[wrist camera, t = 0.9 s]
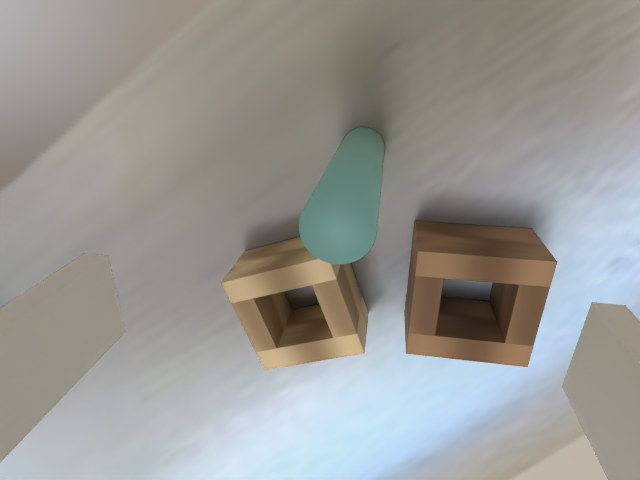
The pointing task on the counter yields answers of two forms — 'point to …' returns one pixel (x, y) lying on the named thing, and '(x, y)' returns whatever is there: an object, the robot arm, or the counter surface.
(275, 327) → the light wooden square frame
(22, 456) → the counter surface
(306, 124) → the counter surface
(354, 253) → the teal cylindrical rod
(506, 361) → the brown wooden square frame
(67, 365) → the robot arm
